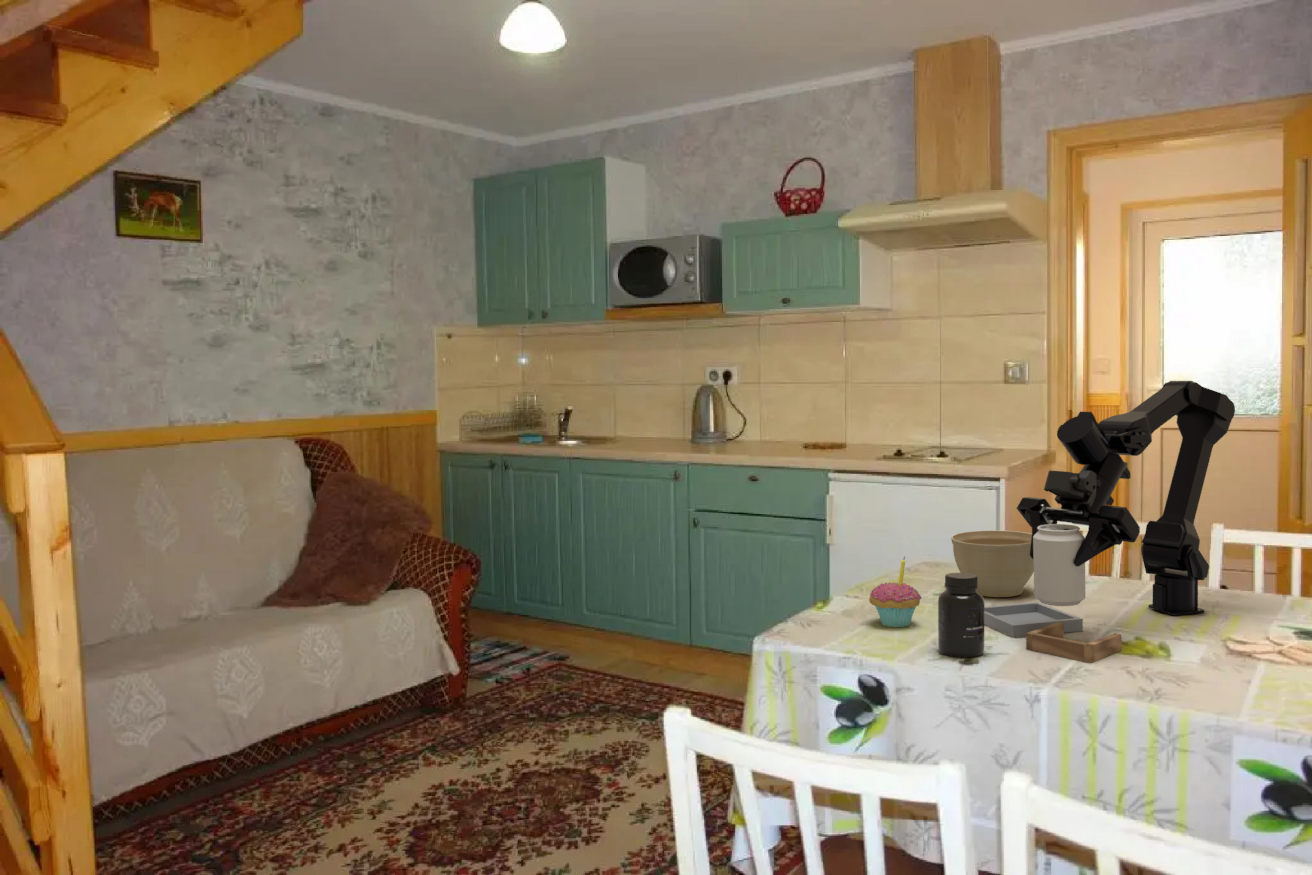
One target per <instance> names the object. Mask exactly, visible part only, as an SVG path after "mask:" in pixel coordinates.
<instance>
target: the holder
mask: <svg viewBox="0 0 1312 875" xmlns="http://www.w3.org/2000/svg"><path fill="white" fill-rule="evenodd" d="M1122 641H1123V638H1122V633H1117V632H1115V633H1111V634H1109V635H1106V636H1104V637H1101V638H1099V639H1096V640H1094V641H1091V642H1088V643H1086V642H1082V641H1078V640H1071V639H1067V638H1065V633H1064V623H1059V622H1057V623H1054V624H1051V625H1048V626H1046V627H1043V628H1040V629H1037V630H1034V631H1031V632H1028V633H1026V637H1025V648H1026V650H1028V651H1029V650H1030V651H1033V650H1034V651H1033V652H1040V653H1043V654H1048V655H1052V656H1057V657H1062V658H1067V659H1069V660H1070V659H1071V660H1076V661H1080V662H1085V663H1089V664H1092V663H1094V662H1096V661H1100V660H1102V659H1104V658H1106V657H1108V656H1111V655H1114V654H1116V653H1118V652H1122V650H1123V649H1122V648H1123V647H1122V644H1123V642H1122Z"/></svg>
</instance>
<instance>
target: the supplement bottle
mask: <svg viewBox="0 0 1312 875" xmlns="http://www.w3.org/2000/svg"><path fill="white" fill-rule="evenodd" d="M944 588H946V590H944V591H941V593H940V594H939V596H938V602H937V604H938V606H937V610H938V611H937V612H938V614H937V616H938V618H937V619H938V620H937V622H938V623H937V624H938V628H937V630H938V632H937V633H938V634H937V635H938V638H937V640H938V642H937V643H938V644H937V645H938V650H939V651H940V653H941V654H943V655H946V656H948V657H953V658H955V657H956V658H975V657H980V656H982V655H983V654H984V652H985V625H984V607H985V599H984V596H982V595H981V594H980V593H978V592H977V591H976V589H977V588H978V577H977V576H976V575H974V574H969V573H960V572H949V573H947V574H945V575H944Z"/></svg>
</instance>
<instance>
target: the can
mask: <svg viewBox="0 0 1312 875" xmlns="http://www.w3.org/2000/svg"><path fill="white" fill-rule="evenodd" d="M1037 529H1038V532H1037V533H1036V534H1035V535H1034V536H1033V558H1034V572H1033V592H1034V594H1033V596H1034V597H1035V598H1036V599H1037V600H1038V602H1039V603H1042V604H1045V605H1047V606H1051V607H1053V606H1054V607H1073V606H1078V605H1080V604H1081V603H1082V601H1084V600H1085V599H1086V598H1087V597H1086V562H1085V563H1083V564H1082V565H1080V566H1079V567H1078V566H1075V564H1074V559H1075V557H1076V554H1077V552H1078V550H1079V548H1080V546H1081V544H1082V542H1083V541H1084V539H1085V537H1086V536H1084V535H1083V534H1082V533H1081V532H1080V529H1081V528H1080V527H1079V526H1078V525H1075V524H1064V523H1057V524H1047V525H1041V526H1038V527H1037Z"/></svg>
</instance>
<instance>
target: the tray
mask: <svg viewBox="0 0 1312 875" xmlns="http://www.w3.org/2000/svg"><path fill="white" fill-rule="evenodd" d="M1083 620H1084V619H1083V618H1081V617H1078V616H1077V615H1073V614H1071V613H1068V612H1065V611H1063V610H1060V609H1057V608H1055V607H1053V606H1051V605H1047V604H1043V603H1041V602H1040V601H1035V602H1025V603H1024V602H1023V603H1015V604H1002V605H1001V604H1000V605H991V606H984V624H985V625H984V626H986V627H988V628H991V629H993V630H995V631H998V632H999V633H1001V634H1004V633H1005V634H1004V635H1006V634H1007V635H1006V636H1009V637H1010V638H1013V637H1015V638H1023V637H1025V638H1026V633H1028V632H1031V631H1034V630H1037V629H1040V628H1043V627H1046V626H1048V625H1051V624H1054V623H1057V622H1059V623H1064V634H1066V633H1074V632H1075V633H1077V632H1083V631H1084V629H1083V628H1084V626H1083V625H1084V621H1083Z"/></svg>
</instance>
